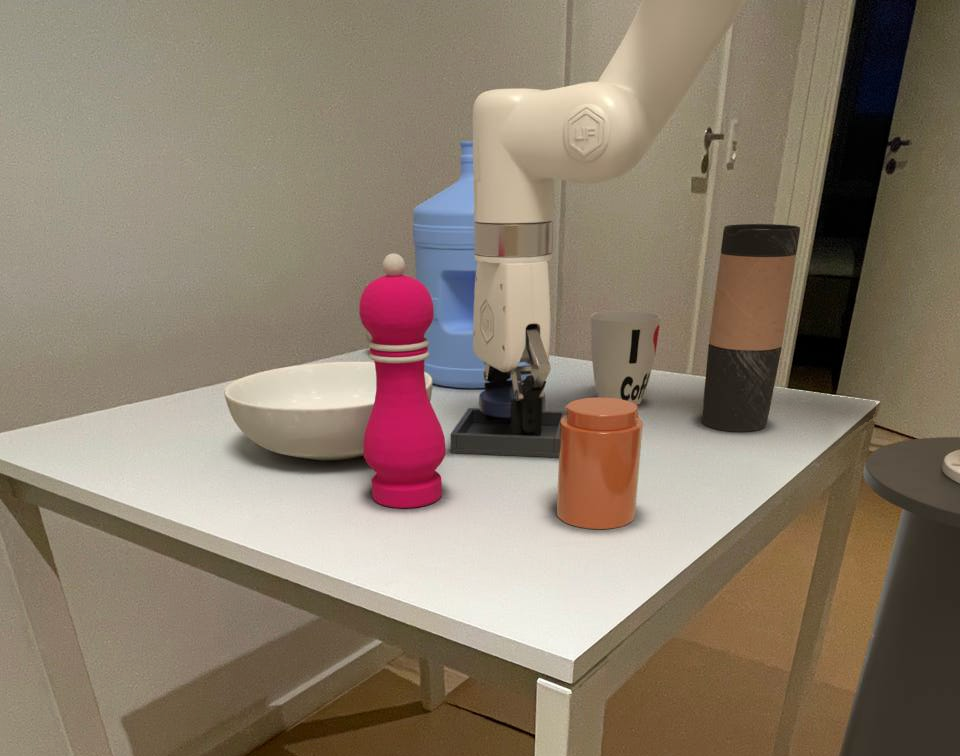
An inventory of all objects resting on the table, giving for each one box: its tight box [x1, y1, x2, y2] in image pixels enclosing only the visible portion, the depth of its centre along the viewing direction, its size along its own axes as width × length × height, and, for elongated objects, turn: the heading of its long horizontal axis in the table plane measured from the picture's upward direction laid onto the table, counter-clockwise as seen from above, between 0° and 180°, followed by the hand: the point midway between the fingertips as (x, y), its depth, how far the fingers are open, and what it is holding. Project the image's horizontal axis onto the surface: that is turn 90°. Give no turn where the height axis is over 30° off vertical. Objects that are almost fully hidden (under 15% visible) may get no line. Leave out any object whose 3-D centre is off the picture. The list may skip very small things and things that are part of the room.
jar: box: [556, 397, 644, 530], centre depth 69 cm, size 7×7×9 cm
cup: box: [590, 310, 662, 406], centre depth 101 cm, size 8×8×10 cm
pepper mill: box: [358, 253, 447, 509], centre depth 71 cm, size 7×7×20 cm
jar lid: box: [478, 386, 546, 418], centre depth 88 cm, size 7×7×2 cm
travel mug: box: [701, 223, 801, 433], centre depth 90 cm, size 8×8×20 cm
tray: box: [450, 407, 567, 459], centre depth 90 cm, size 11×10×2 cm
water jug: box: [412, 140, 531, 389], centre depth 109 cm, size 16×16×28 cm
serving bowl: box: [223, 361, 434, 461], centre depth 87 cm, size 21×21×7 cm
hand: (512, 426), depth 89 cm, fingers closed on jar lid, 6 cm apart
